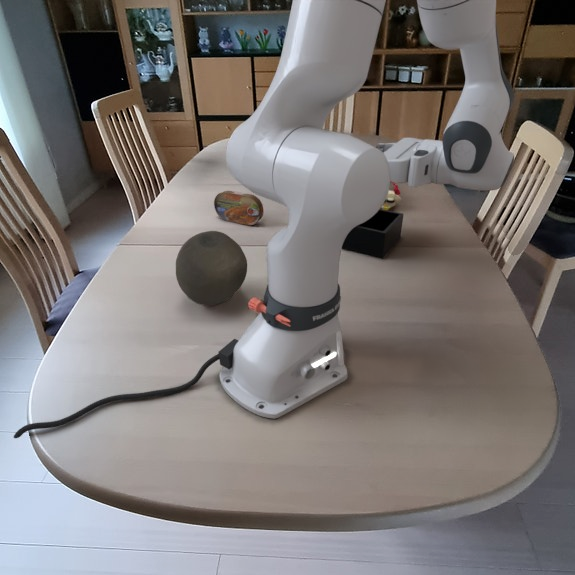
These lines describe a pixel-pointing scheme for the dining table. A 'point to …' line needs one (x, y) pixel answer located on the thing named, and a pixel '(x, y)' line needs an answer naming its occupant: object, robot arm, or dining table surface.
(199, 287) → the dark brown ball
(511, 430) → the dining table surface
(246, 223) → the tin
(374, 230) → the bin
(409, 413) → the dining table surface
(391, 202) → the cat figure
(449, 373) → the dining table surface
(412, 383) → the dining table surface
